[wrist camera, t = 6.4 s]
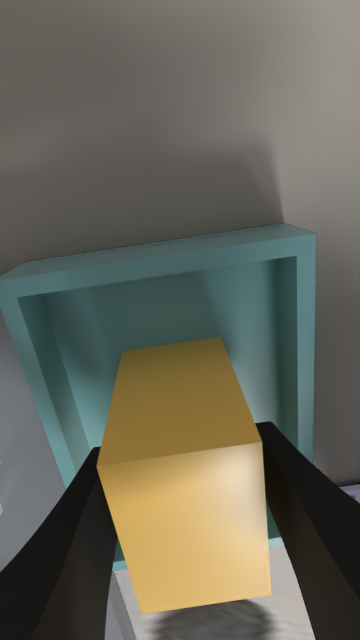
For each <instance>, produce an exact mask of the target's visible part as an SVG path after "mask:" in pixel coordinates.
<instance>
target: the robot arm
mask: <svg viewBox="0 0 360 640" xmlns="http://www.w3.org/2000/svg"><path fill="white" fill-rule="evenodd" d="M255 425H256V427H257V430H258V432H259V435H260V438H261V440H262V448H263V464H264V481H265V497H266V501H267V503H268V506H269V508H270V511H271V513H272V516H273V518H274V521H275V523H276V526H277V528H278V531H279V533H280V536H281V538H282V541H283V543H284V546H285V548H286V551H287V553H288V556H289V558H290V561H291V563H292V566H293V569H294V572H295V574H296V577H297V580H298V584H299V587H300V590H301V593H302V597H303V600H304V603H305V606H306V609H307V613H308V616H309V619H310V623H311V626H312V629H313V633H314V636H315V639H316V640H360V484H358V485H351V486H344V487H338V486H337V485H336V484H335V483H334V482H332V481H331V480H330V479H329V478H328V477H327V476H325V475H324V474H323V473H322V472H321V471H320V470H319V469H318V468H316V467H315V466H314V465H313V464H312V463H311V462H310V461H309V460H308V459H307V458H306V457H305V456H304V455H303V454H302V453H301V452H300V451H299V450H298V449H297V448H296V447H295V446H294V445H293V444H292V443H291V442H290V441H289V440H288V439H287V438H286V437H285V436H284V435H283V433H282V432H281V431H280V430H279V429H278V428H277V427H276V426H275V424H274V423H273V422H271V421H267V422H260V423H255ZM100 448H101V446H99V447H93V449H92V450H91V451H90V453H89V455H88V456H87V458H86V459H85V461H84V463H83V464H82V466H81V467H80V469H79V471H78V472H77V474H76V475H75V477H74V478H73V480H72V482H71V483H70V485H69V486H68V488H67V489H66V490H65V492H64V493H63V495H62V496H61V498H60V499H59V501H58V502H57V504H56V505H55V506H54V508H53V509H52V510H51V512H50V513H49V515H48V516H47V517H46V519H45V520H44V521H43V523H42V524H41V525H40V527H39V528H38V529H37V530H36V532H35V533H34V534H33V535H32V537H31V538H30V539H29V540H28V542H27V543H26V544H25V545H24V546H23V547H22V549H21V550H20V551H19V552H18V553H17V554H16V556H15V557H14V558H13V559H12V560H11V561H10V562H9V563H8V564H7V565H6V567H5V568H4V569H3V570H2V571H1V572H0V640H105V628H106V615H107V603H108V595H109V588H110V581H111V575H112V569H113V563H114V557H115V550H116V544H117V538H118V535H117V532H116V529H115V525H114V522H113V519H112V516H111V512H110V509H109V506H108V503H107V499H106V496H105V493H104V490H103V486H102V483H101V480H100V477H99V473H98V470H97V467H96V466H97V462H98V457H99V453H100Z"/></svg>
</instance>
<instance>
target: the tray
mask: <svg viewBox="0 0 360 640" xmlns="http://www.w3.org/2000/svg"><path fill="white" fill-rule="evenodd" d="M315 288H316V233H314V232H311V231H308V230H305V229H302V228H299V227H296V226H292V225H289V224H286V223H282V224H275V225H269V226H262V227H255V228H249V229H242V230H235V231H228V232H222V233H215V234H208V235H202V236H195V237H188V238H182V239H175V240H168V241H162V242H155V243H148V244H141V245H135V246H128V247H121V248H115V249H108V250H101V251H95V252H88V253H81V254H75V255H68V256H61V257H54V258H48V259H41V260H34V261H28V262H24V263H22V264H20V265H19V266H17V267H15V268H14V269H12V270H10V271H8V272H7V273H5V274H3V275H2V276H0V308H1V311H2V314H3V317H4V319H5V322H6V325H7V328H8V330H9V333H10V336H11V339H12V342H13V344H14V347H15V350H16V353H17V355H18V358H19V361H20V364H21V366H22V369H23V372H24V375H25V377H26V380H27V383H28V386H29V388H30V391H31V394H32V397H33V399H34V402H35V405H36V408H37V410H38V413H39V416H40V419H41V421H42V424H43V427H44V430H45V432H46V435H47V438H48V441H49V444H50V446H51V449H52V452H53V455H54V457H55V460H56V463H57V466H58V468H59V471H60V474H61V477H62V479H63V482H64V485H65V488H66V489H67V488H68V486H69V485H70V483H71V482H72V480H73V478H74V477H75V475H76V474H77V472H78V471H79V469H80V467H81V466H82V464H83V463H84V461H85V459H86V458H87V456H88V455H89V453H90V451H91V450H92V449H93V447H99V446H101V444H102V439H103V435H104V430H105V426H106V422H107V417H108V413H109V408H110V404H111V399H112V395H113V390H114V386H115V381H116V377H117V372H118V368H119V363H120V359H121V355H122V351H127V350H133V349H140V348H147V347H153V346H160V345H167V344H173V343H180V342H187V341H193V340H200V339H207V338H213V337H220V336H221V339H222V341H223V344H224V346H225V349H226V351H227V354H228V356H229V359H230V362H231V364H232V367H233V369H234V372H235V374H236V377H237V379H238V382H239V384H240V387H241V389H242V392H243V394H244V397H245V400H246V402H247V405H248V407H249V410H250V412H251V415H252V417H253V420H254V422H255V423H260V422H267V421H271V422H273V423H274V424H275V426H276V427H277V428H278V429H279V430H280V431H281V432H282V433H283V435H284V436H285V437H286V438H287V439H288V440H289V441H290V442H291V443H292V444H293V445H294V446H295V447H296V448H297V449H298V450H299V451H300V452H301V453H302V454H303V455H304V456H305V457H306V458H307V459H308V460H309V461H310V462H311V463H312V464H313V425H314V357H315ZM266 514H267V531H268V547H269V548H272V547H279V546H284V543H283V541H282V538H281V536H280V533H279V531H278V528H277V526H276V523H275V521H274V518H273V516H272V513H271V511H270V508H269V506H268V503H267V501H266ZM123 569H128V568H127V564H126V561H125V558H124V555H123V551H122V548H121V545H120V542H119V538H117V544H116V550H115V557H114V563H113V569H112V571H117V570H123Z"/></svg>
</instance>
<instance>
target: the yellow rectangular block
mask: <svg viewBox="0 0 360 640" xmlns="http://www.w3.org/2000/svg"><path fill="white" fill-rule="evenodd" d="M96 467H97V470H98V473H99V477H100V480H101V483H102V486H103V490H104V493H105V496H106V499H107V503H108V506H109V509H110V512H111V516H112V519H113V522H114V525H115V529H116V532H117V535H118V538H119V542H120V545H121V548H122V551H123V555H124V558H125V561H126V564H127V568H128V571H129V574H130V577H131V581H132V584H133V587H134V590H135V594H136V597H137V600H138V603H139V607H140V610H141V613H142V614H147V613H153V612H160V611H167V610H174V609H180V608H187V607H194V606H201V605H207V604H214V603H221V602H227V601H234V600H241V599H248V598H254V597H261V596H268V595H271V581H270V564H269V547H268V531H267V514H266V497H265V481H264V464H263V448H262V440H261V438H260V435H259V432H258V430H257V427H256V425H255V422H254V420H253V417H252V415H251V412H250V410H249V407H248V405H247V402H246V400H245V397H244V394H243V392H242V389H241V387H240V384H239V382H238V379H237V377H236V374H235V372H234V369H233V367H232V364H231V362H230V359H229V356H228V354H227V351H226V349H225V346H224V344H223V341H222V339H221V336H220V337H213V338H207V339H200V340H193V341H187V342H180V343H173V344H167V345H160V346H153V347H147V348H140V349H133V350H127V351H122V355H121V359H120V363H119V368H118V372H117V377H116V381H115V386H114V390H113V395H112V399H111V404H110V408H109V413H108V417H107V422H106V426H105V430H104V435H103V439H102V444H101V448H100V453H99V457H98V462H97V466H96Z"/></svg>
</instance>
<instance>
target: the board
mask: <svg viewBox="0 0 360 640" xmlns="http://www.w3.org/2000/svg"><path fill="white" fill-rule="evenodd" d="M65 490H66V488H65V485H64V482H63V479H62V477H61V474H60V471H59V468H58V466H57V463H56V460H55V457H54V455H53V452H52V449H51V446H50V444H49V441H48V438H47V435H46V432H45V430H44V427H43V424H42V421H41V419H40V416H39V413H38V410H37V408H36V405H35V402H34V399H33V397H32V394H31V391H30V388H29V386H28V383H27V380H26V377H25V375H24V372H23V369H22V366H21V364H20V361H19V358H18V355H17V353H16V350H15V347H14V344H13V342H12V339H11V336H10V333H9V330H8V328H7V325H6V322H5V319H4V317H3V314H2V311H1V308H0V572H1V571H2V570H3V569H4V568H5V567H6V565H7V564H8V563H9V562H10V561H11V560H12V559H13V558H14V557H15V556H16V554H17V553H18V552H19V551H20V550H21V549H22V547H23V546H24V545H25V544H26V543H27V542H28V540H29V539H30V538H31V537H32V535H33V534H34V533H35V532H36V530H37V529H38V528H39V527H40V525H41V524H42V523H43V521H44V520H45V519H46V517H47V516H48V515H49V513H50V512H51V510H52V509H53V508H54V506H55V505H56V504H57V502H58V501H59V499H60V498H61V496H62V495H63V493H64V492H65ZM105 640H136V637H135V634H134V631H133V628H132V625H131V622H130V619H129V616H128V613H127V610H126V607H125V604H124V601H123V598H122V595H121V592H120V589H119V586H118V583H117V580H116V577H115V574H114V571H112V575H111V581H110V588H109V595H108V603H107V615H106V628H105Z"/></svg>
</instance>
